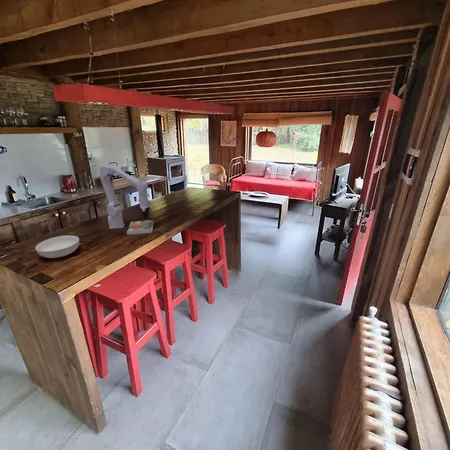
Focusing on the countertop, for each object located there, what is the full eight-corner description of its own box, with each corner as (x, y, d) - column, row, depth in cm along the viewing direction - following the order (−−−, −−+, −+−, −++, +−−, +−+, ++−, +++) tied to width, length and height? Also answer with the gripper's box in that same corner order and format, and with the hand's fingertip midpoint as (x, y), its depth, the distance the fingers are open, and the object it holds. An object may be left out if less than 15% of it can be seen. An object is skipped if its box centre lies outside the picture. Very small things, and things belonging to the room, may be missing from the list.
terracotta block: (133, 229, 176) (132, 231, 174) (132, 223, 175) (131, 224, 172) (140, 229, 177) (139, 230, 175) (139, 223, 176) (138, 224, 173)
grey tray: (127, 234, 169) (126, 230, 168) (129, 230, 177) (128, 226, 176) (152, 233, 172) (151, 228, 171) (152, 228, 180) (152, 224, 179)
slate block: (143, 229, 176) (142, 227, 174) (143, 224, 179) (142, 222, 177) (149, 229, 177) (149, 227, 175) (150, 224, 179) (149, 222, 178)
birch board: (129, 229, 177) (129, 226, 177) (131, 224, 187) (131, 221, 186) (153, 228, 180) (152, 224, 179) (153, 223, 190) (153, 220, 189)
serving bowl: (35, 253, 144) (31, 242, 142) (75, 242, 158) (73, 232, 155) (43, 266, 130) (39, 254, 128) (86, 253, 144) (84, 242, 141)
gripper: (148, 201, 167) (151, 221, 172) (150, 196, 180) (152, 214, 185) (137, 202, 166) (140, 221, 171) (140, 197, 179) (142, 215, 184)
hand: (146, 218), depth 178 cm, fingers closed
